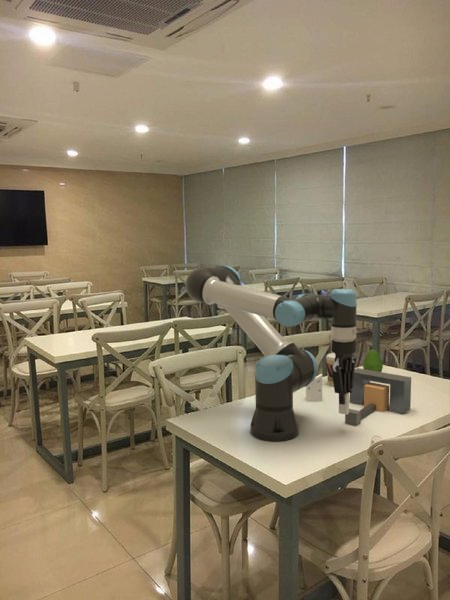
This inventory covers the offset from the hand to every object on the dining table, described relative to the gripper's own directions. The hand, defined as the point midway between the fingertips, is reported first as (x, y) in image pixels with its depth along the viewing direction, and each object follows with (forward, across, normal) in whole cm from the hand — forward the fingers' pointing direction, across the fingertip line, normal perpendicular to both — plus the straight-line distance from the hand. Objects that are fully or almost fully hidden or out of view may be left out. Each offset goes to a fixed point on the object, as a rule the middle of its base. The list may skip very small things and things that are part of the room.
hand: (343, 413), depth 158 cm
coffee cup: (+6, +42, +24) cm, 48 cm away
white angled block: (+6, +20, +22) cm, 30 cm away
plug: (+6, +16, 0) cm, 17 cm away
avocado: (+6, +60, +17) cm, 62 cm away
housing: (+6, +28, 0) cm, 28 cm away
